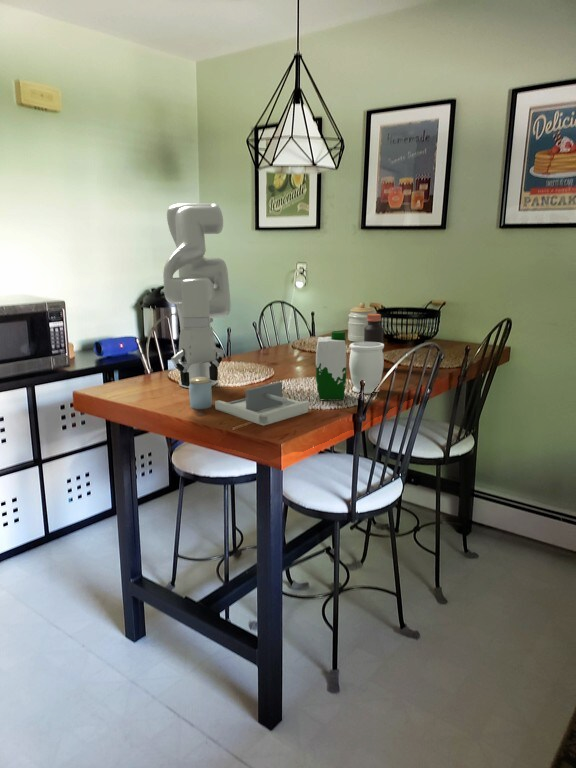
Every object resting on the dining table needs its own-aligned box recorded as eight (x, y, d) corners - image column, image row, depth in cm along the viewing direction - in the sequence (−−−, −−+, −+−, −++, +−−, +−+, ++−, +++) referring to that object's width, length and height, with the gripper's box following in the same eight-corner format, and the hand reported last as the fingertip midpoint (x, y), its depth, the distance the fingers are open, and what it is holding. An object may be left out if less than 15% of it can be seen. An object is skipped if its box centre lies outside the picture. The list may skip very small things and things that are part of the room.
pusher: (246, 412, 155) (245, 389, 153) (279, 403, 163) (279, 381, 161) (268, 420, 148) (267, 396, 147) (302, 410, 157) (302, 387, 155)
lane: (215, 409, 162) (214, 399, 161) (259, 397, 173) (259, 388, 172) (263, 425, 147) (263, 414, 146) (308, 412, 158) (308, 401, 157)
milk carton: (346, 401, 168) (347, 334, 163) (316, 401, 168) (316, 334, 164) (344, 393, 177) (345, 329, 172) (315, 393, 177) (315, 329, 172)
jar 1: (352, 343, 260) (353, 304, 256) (344, 338, 273) (344, 301, 268) (379, 341, 263) (380, 303, 258) (369, 337, 275) (370, 300, 271)
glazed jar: (185, 405, 166) (184, 379, 164) (203, 401, 170) (202, 375, 168) (198, 410, 161) (196, 383, 159) (216, 405, 166) (215, 379, 164)
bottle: (371, 365, 214) (372, 312, 209) (385, 368, 209) (387, 314, 204) (359, 368, 209) (360, 314, 204) (374, 371, 204) (376, 316, 199)
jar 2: (379, 386, 184) (380, 340, 180) (385, 394, 174) (387, 346, 170) (346, 387, 184) (347, 341, 180) (351, 395, 174) (352, 347, 170)
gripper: (214, 319, 168) (216, 376, 171) (162, 325, 156) (166, 385, 160) (229, 321, 162) (231, 379, 166) (177, 327, 151) (181, 389, 155)
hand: (200, 382), depth 163 cm, fingers open, 9 cm apart
